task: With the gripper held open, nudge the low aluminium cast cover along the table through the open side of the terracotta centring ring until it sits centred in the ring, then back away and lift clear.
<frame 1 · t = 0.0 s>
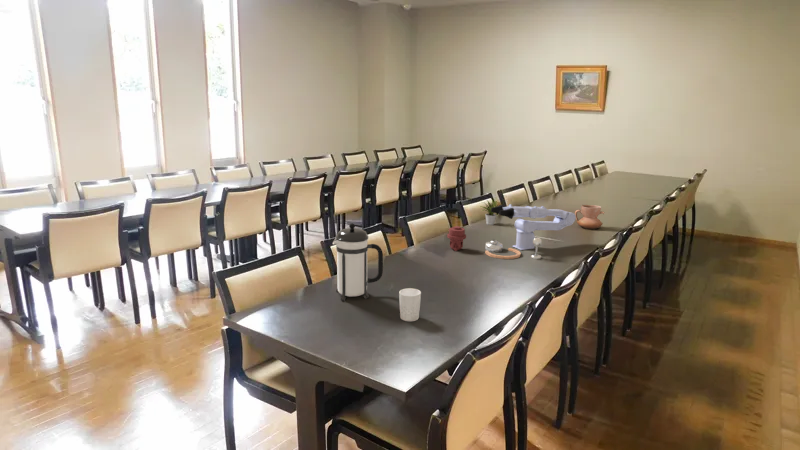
hand: (495, 211, 269), 22 cm above the table, tool horizontal, fingers open, 7 cm apart
ceramic jug: (587, 227, 331), on the table
house plant: (490, 223, 338), on the table
coffee press: (355, 295, 209), on the table
white cup: (409, 318, 187), on the table
centring ring: (502, 253, 269), on the table
wine glass: (535, 257, 263), on the table
mechanical component: (456, 249, 276), on the table
cast cover: (493, 249, 277), on the table
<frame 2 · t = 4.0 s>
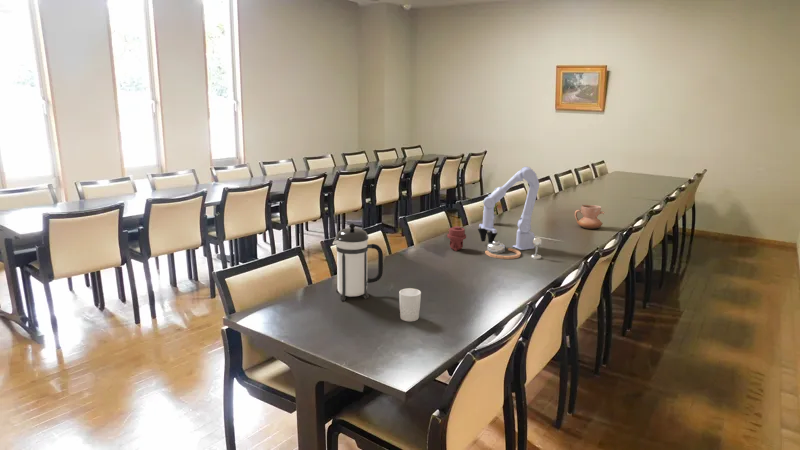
hand: (486, 242, 283), 2 cm above the table, tool pointing down, fingers open, 7 cm apart
cast cover: (495, 250, 275), on the table, touching gripper
everything else where it was.
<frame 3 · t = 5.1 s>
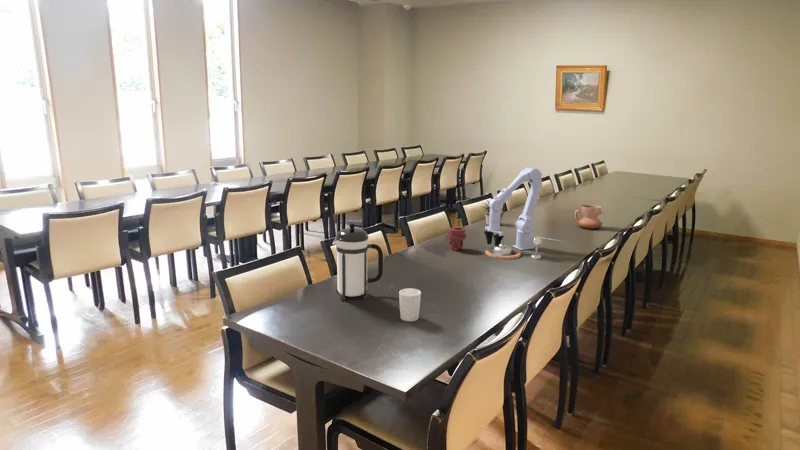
hand: (493, 245, 277), 2 cm above the table, tool pointing down, fingers open, 7 cm apart
cast cover: (502, 253, 270), on the table, touching gripper
everything else where it was.
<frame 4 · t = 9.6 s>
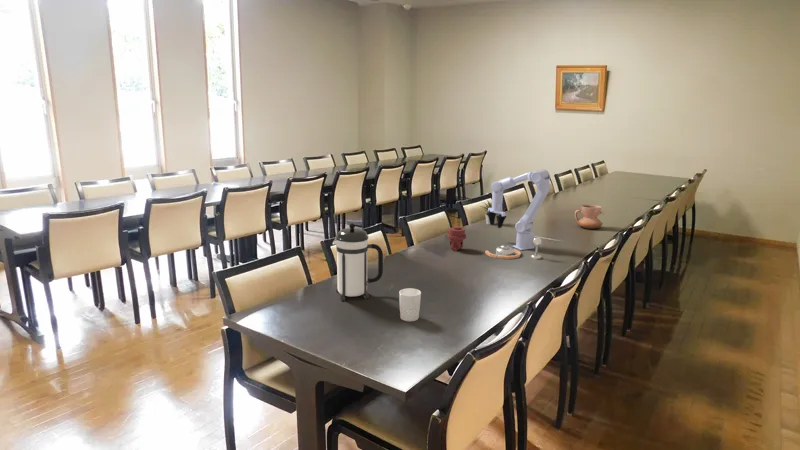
hand: (495, 226, 289), 9 cm above the table, tool pointing down, fingers open, 7 cm apart
cast cover: (504, 255, 268), on the table
everything else where it was.
at the end: cast cover 1.6 cm from the centring ring (horizontally); cast cover touching table; cast cover moved 10.1 cm from its start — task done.
